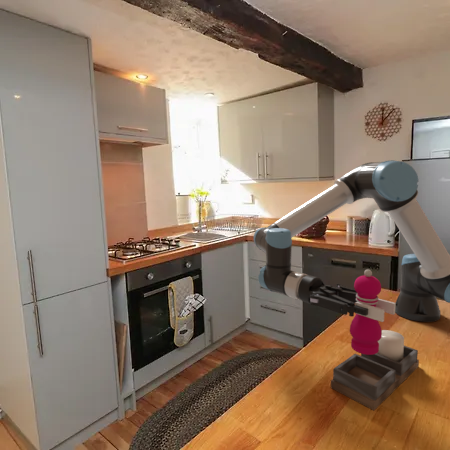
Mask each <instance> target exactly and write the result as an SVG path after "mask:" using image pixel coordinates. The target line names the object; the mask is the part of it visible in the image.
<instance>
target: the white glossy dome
mask: <svg viewBox="0 0 450 450" xmlns="http://www.w3.org/2000/svg"><path fill="white" fill-rule="evenodd" d="M381 330H382V337H381V339H380V340H379V341H378V343H379V351H378V353H376V354H379V355H381V356H384V357H387V358H389V359H392V360H394V361H397V362H399V363H400V362H401V361H402V360H403V355H404V346H405V337H404V335H402V333H400V332H398V331H394V330H390V329H388V330H387V329H381Z"/></svg>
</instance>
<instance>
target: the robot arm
mask: <svg viewBox="0 0 450 450" xmlns="http://www.w3.org/2000/svg"><path fill="white" fill-rule="evenodd" d="M418 182H419V176H418V173H417V171H416V169H415V168H414V167H413V166H412V165H410V164H409V163H407V162H405V161H400V160H385V161H376V162H365V163H363V164H361V165H358V166H356V167H355V168H353V169H352V170H349V172H347V173H345V174H344V175H342V176H341V177H339V178H338V179H336V180H334V183H333V185H332V186H330V187H329V188H327V189H324V191H322V192H321V193H319V194H318V195H316V196H314V197H313V198H311V199H310V200H308V201H306V202H305V203H303V204H302V205H300V206H299V207H297V208H296V209H295V208H294V210H291V212H289V213H287V214H286V215H285V216H283V217H281V218H279V219H278V220H276V221H275V222H273V223H272V224H270V225H268V226H266V227H259V228H258V229H256V230H255V232H254V234H253V243H254V244H255V247H257V248H258V249H259V250H261V251H262V252H263V253H265V265H264V266H262V267H261V268H260V270H259V274H258V278H257V279H258V284H259V285H260V286H261V287H262V288H263V289H265V290H267V291H270V292H273V293H276V294H277V293H278V294H279V295H280V294H281V295H284V296H287V297H289V298H292V299H294V300H295V301H298V300H299V301H302V302H304V303H307V304H309V305H312V306H316V307H320V308H323V309H326V310H329V311H332V312H335V313H338V314H341V315H344V316H346V315H348V314H349V317H355V315H356V314H359V315H362V316H365V317H368V318H371V319H374V320H378V322H381V323H383V322H385V314H388V315H389V314H390V315H391V316H392V315H393V316H394V315H398V316H399V317H402V318H405V319H407V320H410V321H411V320H412V321H416V322H422V323H431V322H436V321H439V320H440V319H441V310H440V306H439V301H438V300H437V298H438V299H441V300H442V301H445V302H446V303H449V304H450V253H449V252H448V250H447V248H446V247H445V245H444V243H443V241H442V240H441V238H440V237H439V235H438V233H437V232H436V230H435V229H434V227H433V225H432V223H431V221H430V220H429V219H428V216H427V215H426V213H425V212H424V210H423V209H422V206H421V205H420V204H419V202H418V201H417V197H418V196H419V191H418V187H419V184H418ZM367 198H368V199H373V200H374V202H375V203H376V205H377V207H378V208H379V209H380V211H382V212H383V213H388V214H389V216H390V217H391V219H392V220H393V222H394V224H395V225H396V226H397V228H398V230H399V232H400V233H401V234H402V236H403V238H404V239H405V241H406V243H407V244H408V245H409V248H410V249H411V251H412V253H409V254H405V255H403V257H402V260H401V265H400V266H401V269H400V271H401V272H400V274H401V275H400V292H399V294H398V296H397V299H396V301H395V302H393V301H389V300H386V299H381V298H379V297H378V303H377V304H376V307H374V306H370V305H367V304H363V303H360V302H357V301H356V294H357V292H356V291H355V289H354V287H349V286H345V285H344V284H343V285H342V284H340V283H336V285H335V286H333V285H330V284H324V282H323V280H322V279H321V278H320V277H318V276H313V275H310V274H306V273H303V272H298V271H294V270H292V247H293V246H292V244H293V238H294V237H295V236H297V235H298V234H300V233H301V232H303V231H305V230H306V229H308V228H310V227H311V226H313V225H314V224H316V223H318V222H319V221H321V220H323V219H324V218H326V217H327V216H328V215H329V216H330V214H332V213H333V212H335V211H337V210H338V209H340V208H341V207H343V206H345V205H346V204H347V205H352V204H354V203H355V202H357V201H359V200H363V199H367Z"/></svg>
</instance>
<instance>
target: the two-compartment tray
mask: <svg viewBox="0 0 450 450" xmlns="http://www.w3.org/2000/svg"><path fill="white" fill-rule="evenodd" d="M418 351H419V350H418V349H415V348H412V347H410V346H406V345H404V355H403V360H402V361H401V362H400V363H399V362H397V361H394V360H392V359H389V358H387V357H384V356H381V355H379V354H373V355H366V354H361V353H360V355H359V354H358V353H354V354H352V355H350V356H349V357H348V358H347V359H345V360H343V361H342V362H341V363H340V364H338V365H336V366H335V367H334V368H333V374H332V376H333V377H332V378H331V380H330V389H332V390H334V391H336V392H338V393H339V394H341V395H344V396H346V397H347V398H350V399H351V400H352V401H355V402H356V403H358V404H361V405H363V406H364V407H366V408H369V409H370V410H372V411H375V410H376V409H377V408H378V407H379V406H380V405H381V404H382V403H383V402H385V400H387V398H388V397H389V396H390V395H391V394H392V393H393V392H395V390H396V389H398V388H399V386H400V385H401V384H402V383H404V381H405V380H406V379H408V378H409V376H410V375H412V373H414V372H415V371H416V370H417V369H418V368H419V366H420V365H419V363H420V359H418V354H419V352H418Z"/></svg>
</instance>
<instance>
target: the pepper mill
mask: <svg viewBox="0 0 450 450" xmlns="http://www.w3.org/2000/svg"><path fill="white" fill-rule="evenodd" d="M353 288H354V289H355V291H356V292H357V294H356V301H357V302H360V303H363V304H367V305H370V306H374V307H376V304H377V303H378V298H379V294H380V293H381V292H382V284H381V282H380V280H379V279H378V278H376V277H375V276H374V275H373V272H372V270H371V269H365V270H364V272H363V275H359V276H358V277H357V278H355V281H354V284H353ZM382 330H383V329H382V328H381V324H380V321H378V320H374V319H371V318H368V317H365V316H362V315H359V314H356V313H355V314H354V316H353V319H352V320H351V322H350V326H349V333H350V336H351V337H352V338H351V341H350V343H351V344H350V345H351V348H352V349H353V350H354V351H355V353H357V354H358V353H359V354H360V355H361V354H366V355H373V354H376V353H378V351H379V343H378V341H379V340H380V339H381V337H382Z"/></svg>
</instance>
